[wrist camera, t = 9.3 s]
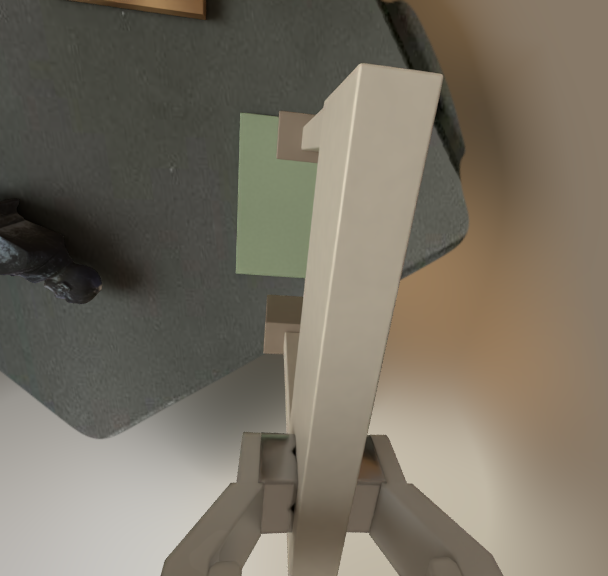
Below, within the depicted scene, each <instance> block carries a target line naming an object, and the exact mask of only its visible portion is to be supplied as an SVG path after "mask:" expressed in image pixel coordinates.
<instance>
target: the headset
mask: <svg viewBox="0 0 608 576" xmlns="http://www.w3.org/2000/svg"><path fill="white" fill-rule="evenodd" d="M442 82H443V75H442V74H438V73H431V72H424V71H417V70H409V69H402V68H395V67H387V66H380V65H373V64H366V63H361V64H359V65H358V66H357V67H356V68H355V69H354V70H353V72H352V73H351V74H350V75H349V76H348V77H347V78H346V79H345V80H344V81H343V82H342V83H341V84H340V85H339V86H338V87H337V89H336V90H335V91H334V92H333V93H332V94H331V95H330V96H329V97H328V98H327V99H326V100H325V102H324V108H323V109H322V110H321V111H320V112H319V113H318V114H317V115H312V114H304V113H296V112H287V111H280V112H279V123H278V138H277V153H276V158H277V159H281V160H291V161H300V162H310V163H318V165H317V175H316V184H315V193H314V203H313V212H312V221H311V231H310V240H309V249H308V259H307V268H306V277H305V287H304V296H303V297H296V296H280V295H267V306H266V321H265V337H264V353H266V354H284V369H285V397H286V422H287V423H286V425H287V434H295V438H296V450H295V456H296V458H297V467H298V490H297V498H296V503H295V504H294V521H293V529H292V532H291V533H287V550H288V551H287V553H288V576H337V574H338V570H339V565H340V560H341V555H342V551H343V546H344V541H345V536H346V532H347V527H348V523H349V518H350V513H351V509H352V504H353V499H354V494H355V490H356V485H357V480H358V476H359V471H360V466H361V462H362V457H363V452H364V448H365V443H366V438H367V433H368V429H369V424H370V419H371V415H372V410H373V405H374V401H375V396H376V391H377V387H378V382H379V377H380V372H381V368H382V363H383V358H384V354H385V349H386V344H387V340H388V335H389V330H390V325H391V321H392V316H393V311H394V307H395V302H396V297H397V293H398V288H399V283H400V279H401V274H402V269H403V265H404V260H405V255H406V251H407V246H408V241H409V236H410V232H411V227H412V222H413V218H414V213H415V208H416V204H417V199H418V194H419V190H420V185H421V180H422V175H423V171H424V166H425V161H426V157H427V152H428V147H429V143H430V138H431V133H432V129H433V124H434V119H435V114H436V110H437V105H438V100H439V96H440V91H441V86H442Z"/></svg>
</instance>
